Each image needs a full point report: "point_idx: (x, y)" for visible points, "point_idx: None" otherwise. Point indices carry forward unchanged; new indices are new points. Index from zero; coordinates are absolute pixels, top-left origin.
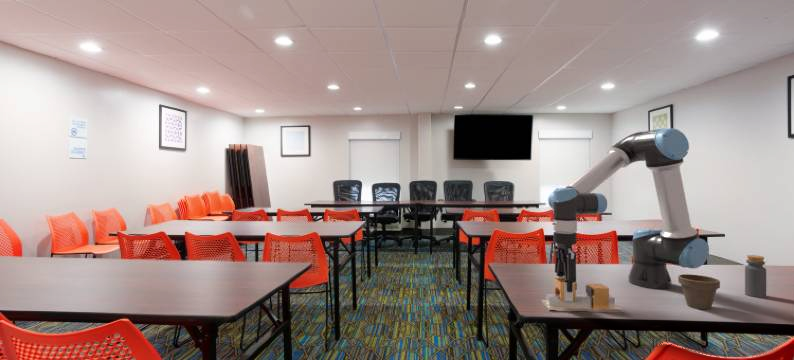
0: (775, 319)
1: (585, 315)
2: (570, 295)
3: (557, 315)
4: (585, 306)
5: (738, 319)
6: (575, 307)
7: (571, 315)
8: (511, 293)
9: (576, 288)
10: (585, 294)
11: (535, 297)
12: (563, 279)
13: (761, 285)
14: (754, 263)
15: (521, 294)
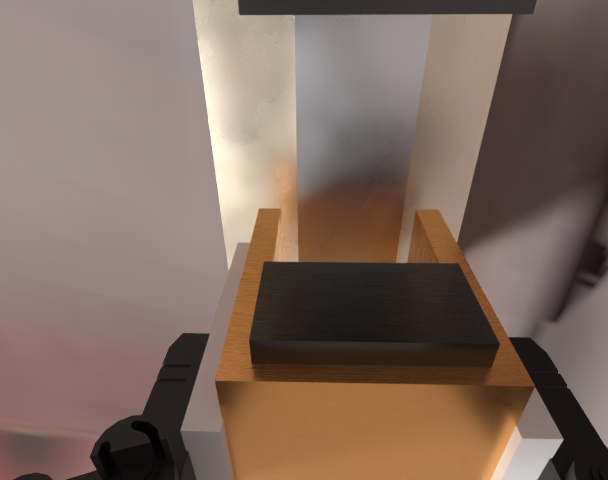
0: None
1: (564, 141)
2: None
3: (506, 327)
4: (424, 76)
5: None
6: (437, 188)
7: (530, 247)
8: (96, 433)
9: (465, 279)
10: (296, 25)
11: (138, 345)
12: (328, 466)
13: None
14: None
15: (97, 397)
